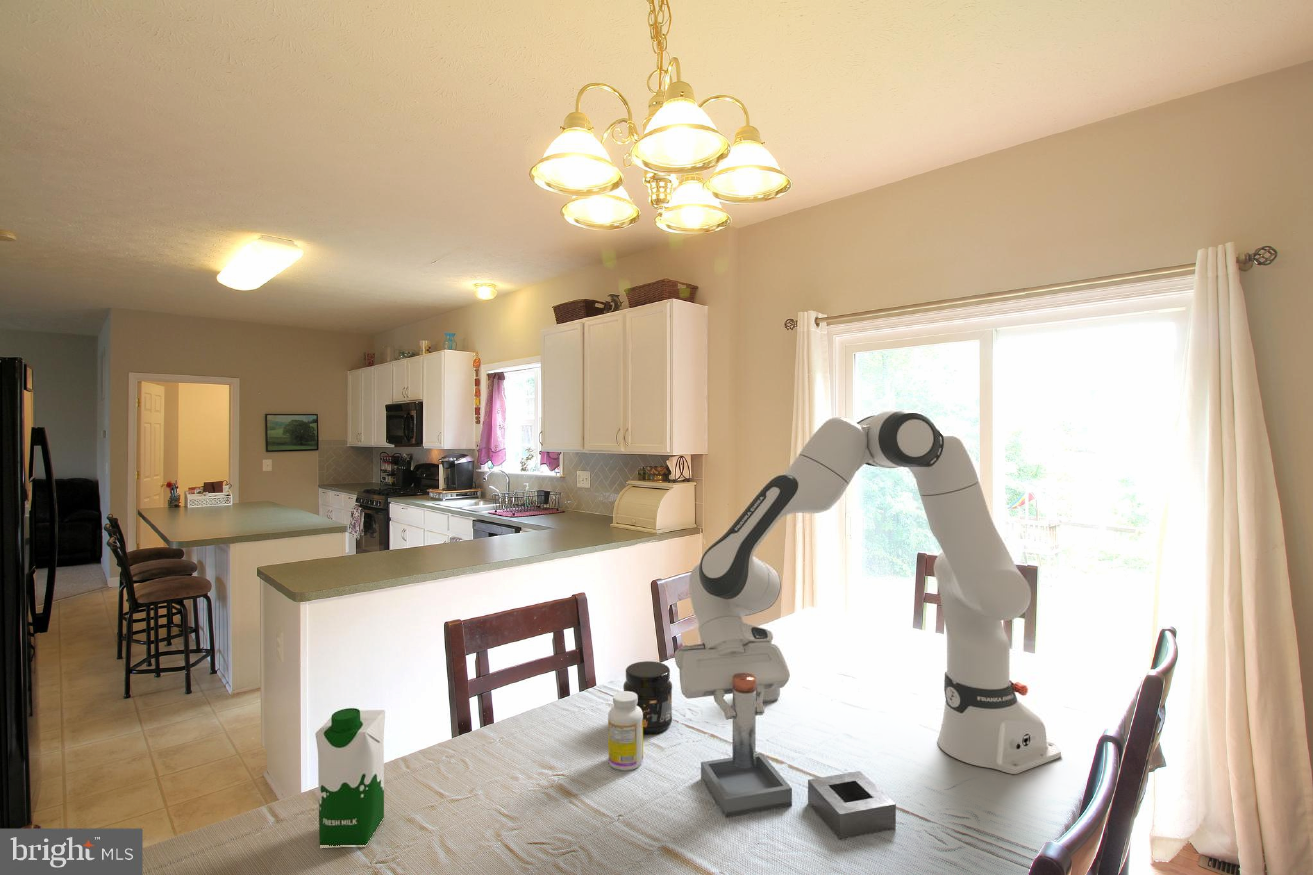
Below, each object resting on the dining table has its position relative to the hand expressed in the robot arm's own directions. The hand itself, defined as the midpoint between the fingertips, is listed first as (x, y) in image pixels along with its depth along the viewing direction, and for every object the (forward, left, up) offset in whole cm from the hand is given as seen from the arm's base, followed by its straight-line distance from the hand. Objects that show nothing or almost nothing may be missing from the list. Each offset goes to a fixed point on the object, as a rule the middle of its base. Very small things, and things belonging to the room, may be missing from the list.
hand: (745, 716), depth 110 cm
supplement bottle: (+18, -16, -14) cm, 27 cm away
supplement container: (+10, -30, -14) cm, 34 cm away
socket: (-14, +10, -14) cm, 22 cm away
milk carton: (+64, -7, -14) cm, 66 cm away
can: (-20, -36, -14) cm, 43 cm away
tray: (0, -1, -14) cm, 14 cm away
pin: (0, -1, -8) cm, 8 cm away
